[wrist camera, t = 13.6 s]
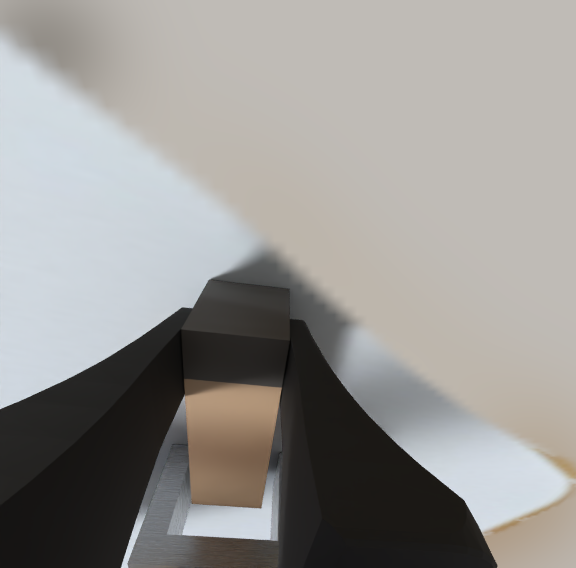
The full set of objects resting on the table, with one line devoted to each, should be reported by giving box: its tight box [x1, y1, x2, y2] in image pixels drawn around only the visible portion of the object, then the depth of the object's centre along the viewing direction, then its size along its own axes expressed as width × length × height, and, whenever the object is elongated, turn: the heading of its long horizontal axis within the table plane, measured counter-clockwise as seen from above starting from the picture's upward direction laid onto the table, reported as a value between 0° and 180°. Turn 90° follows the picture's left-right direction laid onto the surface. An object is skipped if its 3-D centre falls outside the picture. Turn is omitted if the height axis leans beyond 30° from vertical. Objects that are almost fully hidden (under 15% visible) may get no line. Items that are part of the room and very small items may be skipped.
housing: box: [128, 444, 282, 568], centre depth 13 cm, size 4×7×8 cm, turn 83°
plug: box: [181, 280, 290, 508], centre depth 12 cm, size 10×3×3 cm, turn 172°
